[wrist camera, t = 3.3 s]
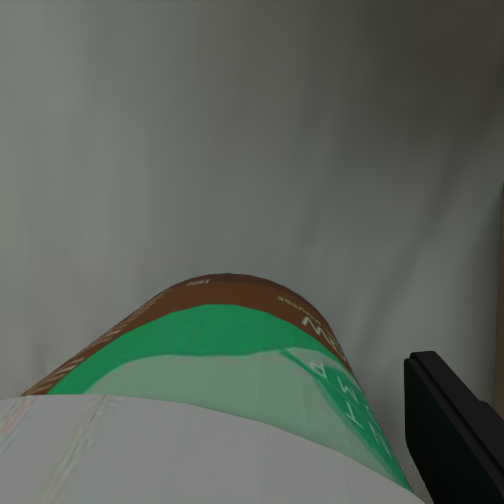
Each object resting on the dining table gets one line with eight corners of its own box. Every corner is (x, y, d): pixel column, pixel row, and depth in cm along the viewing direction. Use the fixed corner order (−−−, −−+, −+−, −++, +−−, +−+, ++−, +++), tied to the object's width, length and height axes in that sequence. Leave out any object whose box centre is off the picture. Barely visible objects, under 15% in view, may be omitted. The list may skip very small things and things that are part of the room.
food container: (442, 393, 12) (1036, 1207, 3) (325, 469, 14) (435, 1165, 4) (220, 166, 11) (-335, 176, 1) (113, 281, 12) (-518, 730, 2)
